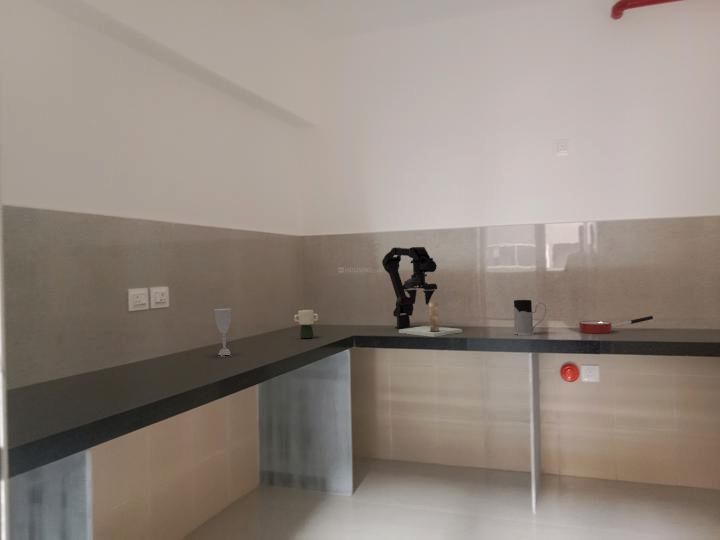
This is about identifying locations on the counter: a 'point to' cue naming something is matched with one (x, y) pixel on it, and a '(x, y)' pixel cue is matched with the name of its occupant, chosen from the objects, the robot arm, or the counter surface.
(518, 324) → the grey mug
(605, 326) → the frying pan
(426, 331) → the seat board
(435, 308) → the beech peg
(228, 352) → the chalice
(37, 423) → the counter surface
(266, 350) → the counter surface
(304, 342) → the counter surface
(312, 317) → the trophy cup
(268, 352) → the counter surface
